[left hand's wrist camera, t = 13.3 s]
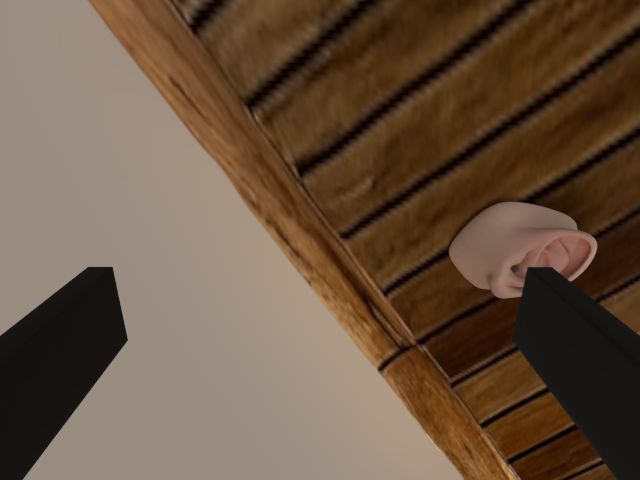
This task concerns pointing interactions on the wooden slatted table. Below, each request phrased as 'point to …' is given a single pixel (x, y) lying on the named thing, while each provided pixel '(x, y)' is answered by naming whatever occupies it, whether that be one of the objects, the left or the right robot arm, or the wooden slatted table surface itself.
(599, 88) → the wooden slatted table surface
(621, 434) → the left robot arm
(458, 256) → the anatomical model
